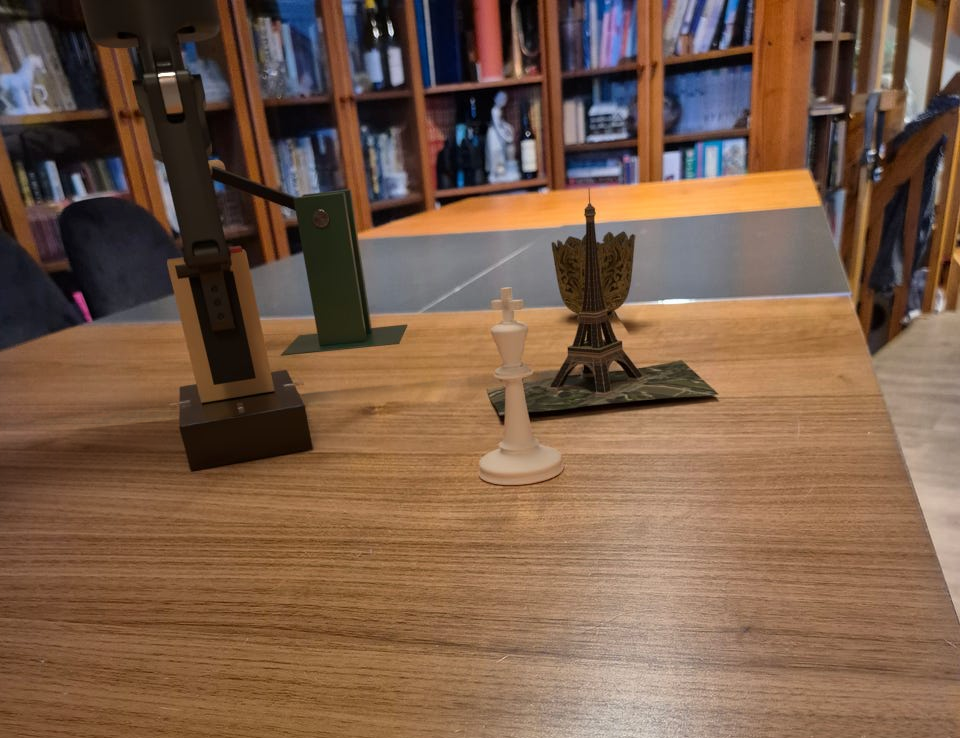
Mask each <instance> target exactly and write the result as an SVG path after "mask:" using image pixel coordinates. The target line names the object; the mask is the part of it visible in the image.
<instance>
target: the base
mask: <svg viewBox="0 0 960 738" xmlns="http://www.w3.org/2000/svg"><path fill="white" fill-rule="evenodd" d="M271 375H272V380H273V385H274V391H273V392H267V393H260V394H254V395H248V396H242V397H236V398H230V399H224V400H218V401H212V402H206V403H201V400H200V396H199V392H198V388H197V384H196V383H194V384H189V385H182V386H179V390H178V391H179V392H178V394H179V396H178V400H179V401H174V402H169V404H168V405H169V407H176V406H178V407H179V408H178V428H179V432H180V436H181V440H182V443H183V447H184V452H185V454H186V455H185V456H186V459H187V462H188V466H189V470H190V471H191V472H193V471H197V470H204V469H209V468H215V467H216V468H217V467H222V466H227V465H233V464H238V463H243V462H249V461H254V460H255V461H256V460H261V459H265V458H271V457H272V458H273V457H277V456H278V457H279V456H284V455H288V454H294V453H301V452H305V451H312V450H313V449H314V445H313V441H312V436H311V429H310V426H309V420H308V414H307V410H306V405H305V402H304V401H303V399H302V397H301V395H300V393H299V391H298V389H297V388H296V387H297V386H304V385H305V384H304V381H297V382H293V379H292V378H291V375H290V373H289V372H288V370H287V369H282V370H275V371H271Z"/></svg>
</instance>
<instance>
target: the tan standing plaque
mask: <svg viewBox="0 0 960 738" xmlns="http://www.w3.org/2000/svg"><path fill="white" fill-rule="evenodd" d="M229 248H230V252H231V256H230V257H231V262H232V265H231V267H230V269H231V271H233V273H234V278H235V282H236V287H237V292H238V296H239V301H240V306H241V310H242V315H243V320H244V325H245V329H246V334H247V339H248V343H249V348H250V353H251V357H252V362H253V367H254V371H255V376H256V378H255V379H248V380H242V381H236V382H230V383H224V384H217V385H214V384H213V380H212V375H211V371H210V367H209V363H208V358H207V354H206V350H205V346H204V341H203V337H202V333H201V329H200V324H199V320H198V316H197V312H196V307H195V303H194V299H193V295H192V291H191V286H190V282H189V278H182V279H178V277H177V273H176V269H175V265H183V264H185V263H186V262H185V263H184V259H183V256H182V257H175V258H167V261H166V265H167V269H168V274H169V278H170V282H171V286H172V289H173V295H174V297H175V303H176V305H177V310H178V314H179V318H180V322H181V327H182V330H183V334H184V339H185V342H186V346H187V351H188V355H189V360H190V363H191V367H192V372H193V376H194V380H195V384H197V388H198V392H199V396H200V400H201V403H206V402H212V401H218V400H224V399H230V398H236V397H242V396H248V395H254V394H260V393H267V392H273V391H274V385H273V380H272V375H271V372H272V371H271V366H270V361H269V357H268V352H267V346H266V343H265V337H264V333H263V327H262V323H261V318H260V313H259V308H258V304H257V303H258V302H257V298H256V293H255V288H254V282H253V279H252V278H253V277H252V273H251V268H250V264H249V259H248V256H247V251H246V250H245V249H243V247H242V246H241V245H235V246H233V247H229Z"/></svg>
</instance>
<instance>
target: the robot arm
mask: <svg viewBox="0 0 960 738" xmlns="http://www.w3.org/2000/svg"><path fill="white" fill-rule="evenodd" d="M79 2H80V7H81V11H82V14H83V18H84V22H85V25H86V26H85V27H86V30H87V33H88V36H89V38H90V40H91V41H92V42H93V43H94V44H95V45H96V46H98V47H102V48H109V49H127V48H128V49H130V48H139V53H140V56H141V61H142V65H143V66H142V67H143V71H144V72H143V73H142V78H141V79H132V80H131V82H132V87H133V91H134V96H135V100H136V104H137V107H138V110H139V113H140V115H141V116H142V117H143V118H144V120H145V123H146V128H147V132H148V136H149V137H148V138H149V141H150V146H151V149H152V153H153V155H154V157H155V159H156V160H157V161H158V162H161V163H162V164H163V165H164V169H165V174H166V178H167V182H168V187H169V191H170V196H171V199H172V204H173V208H174V212H175V217H176V221H177V226H178V229H179V234H180V239H181V242H182V248H183V253H182V257H183V259H184V263H185V262H186V263H185V264H183V265H175V269H176V273H177V277H178V279H182V278H189V282H190V286H191V291H192V295H193V299H194V303H195V307H196V312H197V316H198V320H199V324H200V329H201V333H202V337H203V341H204V346H205V350H206V354H207V358H208V363H209V367H210V371H211V375H212V380H213V384H214V385H217V384H224V383H230V382H236V381H242V380H248V379H255V378H256V376H255V371H254V367H253V362H252V357H251V353H250V348H249V343H248V339H247V334H246V329H245V325H244V320H243V315H242V310H241V306H240V301H239V296H238V292H237V287H236V282H235V278H234V273H233V271H231V269H230V267H231V265H232V262H231V257H230V256H231V252H230V248H229V247H234V245H233V242H232V243H227V240H226V236H225V232H224V227H223V223H222V217H221V214H220V209H219V204H218V200H217V194H216V190H215V186H214V185H215V184H214V180H212V176H211V171H210V167H209V162H208V161H209V157H210V156H211V155H212V153H213V146H212V145H213V144H212V139H211V134H210V131H209V125H208V121H207V117H206V112H205V111H206V109H207V98H206V92H205V87H204V84H203V79H202V78H203V77H202V75H201V73H194V74H192V73H191V70H189V68H186V67H185V62H184V58H183V54H182V53H183V52H182V50H181V49H182V48H181V44H184V43H185V44H186V43H197V42H202V41H205V40H208V39H209V40H210V39H212V38H214V37H216V36H217V35H218V33H220V30H221V27H222V25H221V19H220V13H219V9H218V8H219V7H218V3H217V0H79Z"/></svg>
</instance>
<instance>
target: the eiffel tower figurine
mask: <svg viewBox="0 0 960 738" xmlns="http://www.w3.org/2000/svg"><path fill="white" fill-rule="evenodd" d="M590 190H591V189H590V187H588V203H587V206H586V207H585V208H584V213H583V216H584V217H585V235H586V252H585V282H584V295H583V304H582V311H581V312H579V314H580V316H581V317H580V321H578V325H577V329H576V333H575V337H574V339H573V342H572V345H569V346H567V348H566V349H567V356H566V357H565V359H564V361H563V363H562V364H561V366H560V368H559V370H558V371H557V373H556V375H555V376H554V377H550V378H549V377H548V378H543V379H537V380H533V381H527V382H523V388H524V394H525V400H526V405H527V410H528V413H537V412H548V411H549V412H550V411H557V410H558V411H559V410H567V409H576V408H585V407H591V406H600V405H610V404H617V403H627V402H637V401H647V400H658V399H659V400H661V399H672V398H692V397H693V398H695V397H707V396H718V395H719V396H720V394H719V392H717V391H716V389H714V388H713V387H712V386H711V385H710V384H708V382H706V381H705V380H704V379H703V378H702V377H701V376H700V375H699V374H697V372H695V371H694V370H693V369H692V368H691V367H690V366H689V365H688V364H687V363H686V362H684V361H683V360H682V359H680V360H674V361H671V362H665V363H660V364H655V365H649V366H643V367H637V366H636V365H635V363H634V362H633V361H632V359H631V358H630V357H629V356H628V354H627V353H626V351H625V350H624V349H623V340H618V339H617V337H616V334H615V332H614V330H613V326H612V324H611V321H610V319H609V318H608V315H607V311H608V309H606V308H605V303H604V299H603V293H602V287H601V280H600V272H599V263H598V253H597V234H596V224H595V216H596V215H597V213H596V208H595V207H594V206H593V205H592V203H591V193H590ZM579 314H578V315H579ZM613 362H615V363H617V364H618V365H619V366H620V367H621V369H622V370H610V367H611V364H612V363H613ZM579 365H583V366H582V373H577V374H571V372H572V371H573V370H574V369H575V368H576V367H577V366H579ZM486 392H487V395H488V397H489V400H490V402H491V403H492V404H493V406H494V407H495V408H496V410H497V413H498V415H499V416H505V386H500V387H493V388H488V389H486Z"/></svg>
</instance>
